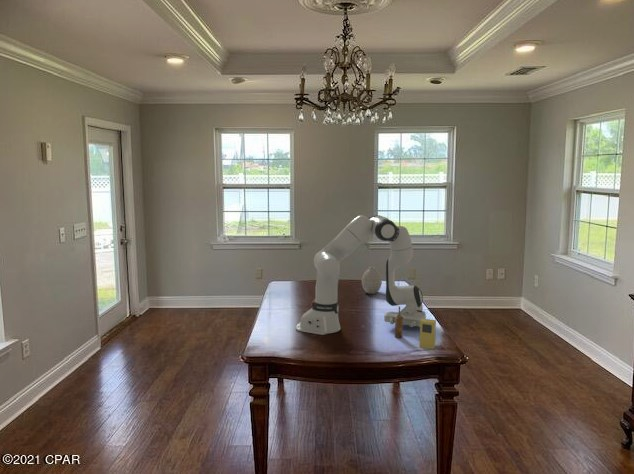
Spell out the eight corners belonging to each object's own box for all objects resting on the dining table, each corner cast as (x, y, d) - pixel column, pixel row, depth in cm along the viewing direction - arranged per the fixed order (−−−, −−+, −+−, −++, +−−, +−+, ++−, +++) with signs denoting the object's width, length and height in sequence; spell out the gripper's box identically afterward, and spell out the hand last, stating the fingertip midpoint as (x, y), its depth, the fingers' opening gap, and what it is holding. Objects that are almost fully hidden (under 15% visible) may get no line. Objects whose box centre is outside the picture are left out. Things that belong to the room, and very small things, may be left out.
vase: (365, 295, 303) (365, 269, 301) (359, 290, 316) (359, 265, 313) (384, 294, 306) (384, 268, 303) (377, 289, 318) (378, 264, 316)
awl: (394, 338, 225) (395, 307, 223) (395, 335, 228) (396, 305, 226) (401, 338, 224) (402, 307, 222) (402, 336, 228) (403, 305, 225)
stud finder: (421, 344, 217) (422, 318, 215) (435, 346, 215) (435, 320, 213) (419, 347, 214) (420, 321, 212) (433, 349, 211) (433, 323, 209)
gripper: (388, 307, 246) (380, 314, 233) (428, 312, 237) (422, 320, 225) (388, 319, 247) (380, 327, 234) (428, 324, 238) (421, 333, 226)
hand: (401, 323), depth 230 cm, fingers open, 8 cm apart
